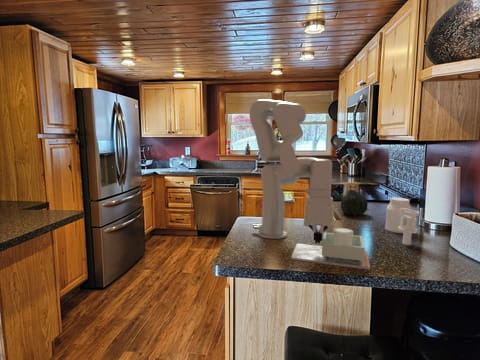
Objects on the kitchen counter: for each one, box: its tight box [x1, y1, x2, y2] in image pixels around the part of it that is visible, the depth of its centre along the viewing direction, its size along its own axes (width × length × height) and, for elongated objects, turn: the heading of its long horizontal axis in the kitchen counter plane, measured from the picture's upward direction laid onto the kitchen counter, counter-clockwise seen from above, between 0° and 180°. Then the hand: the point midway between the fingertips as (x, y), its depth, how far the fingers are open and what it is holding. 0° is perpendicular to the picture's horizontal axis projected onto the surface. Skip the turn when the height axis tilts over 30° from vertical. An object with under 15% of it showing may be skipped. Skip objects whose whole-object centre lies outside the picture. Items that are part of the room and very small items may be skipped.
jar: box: [384, 197, 413, 234], centre depth 150 cm, size 12×10×15 cm
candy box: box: [342, 181, 360, 198], centre depth 204 cm, size 9×4×15 cm, turn 103°
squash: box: [340, 190, 368, 217], centre depth 181 cm, size 14×15×15 cm
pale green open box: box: [321, 231, 366, 263], centre depth 113 cm, size 14×14×6 cm
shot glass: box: [332, 227, 354, 246], centre depth 113 cm, size 7×7×7 cm
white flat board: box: [290, 242, 371, 271], centre depth 115 cm, size 26×16×1 cm, turn 73°
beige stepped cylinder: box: [398, 208, 420, 246], centre depth 129 cm, size 7×7×15 cm
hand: (317, 242), depth 115 cm, fingers closed
